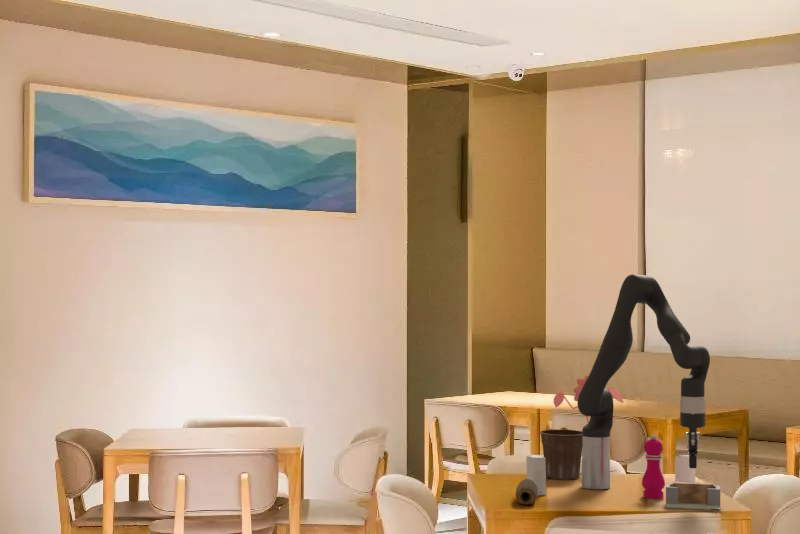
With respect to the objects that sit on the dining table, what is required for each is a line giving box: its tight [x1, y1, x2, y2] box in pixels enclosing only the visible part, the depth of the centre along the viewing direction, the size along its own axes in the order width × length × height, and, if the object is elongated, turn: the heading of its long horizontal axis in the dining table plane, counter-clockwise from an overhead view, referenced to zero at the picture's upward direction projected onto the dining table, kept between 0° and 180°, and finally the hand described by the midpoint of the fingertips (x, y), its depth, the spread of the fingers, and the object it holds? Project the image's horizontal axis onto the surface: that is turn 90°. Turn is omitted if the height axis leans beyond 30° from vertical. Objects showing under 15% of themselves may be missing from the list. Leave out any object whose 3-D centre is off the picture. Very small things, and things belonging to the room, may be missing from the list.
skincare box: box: [525, 454, 547, 496], centre depth 379 cm, size 6×4×12 cm
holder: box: [665, 483, 721, 510], centre depth 359 cm, size 16×9×6 cm, turn 77°
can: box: [674, 453, 696, 482], centre depth 386 cm, size 6×6×12 cm
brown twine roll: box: [515, 478, 538, 505], centre depth 363 cm, size 15×7×7 cm, turn 176°
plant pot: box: [539, 429, 583, 481], centre depth 415 cm, size 16×16×16 cm
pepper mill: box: [641, 433, 666, 500], centre depth 375 cm, size 7×7×20 cm
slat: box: [672, 481, 714, 504], centre depth 359 cm, size 12×3×6 cm, turn 77°
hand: (692, 467), depth 359 cm, fingers closed
